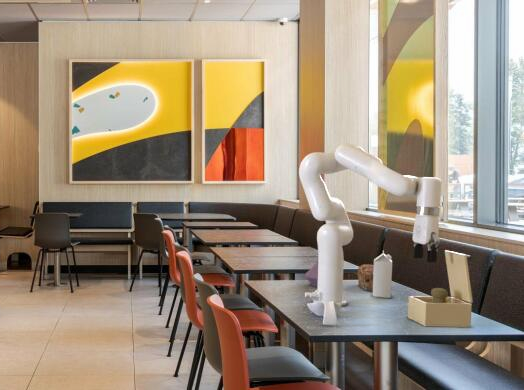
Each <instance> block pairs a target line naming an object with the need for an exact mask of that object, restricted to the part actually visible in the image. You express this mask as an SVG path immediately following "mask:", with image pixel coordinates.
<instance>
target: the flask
mask: <svg viewBox="0 0 524 390" xmlns="http://www.w3.org/2000/svg"><path fill="white" fill-rule="evenodd" d="M303 275H304V276H305V278H306V279H307V281H308V282H309V283H310V284H311V285H310V286H312V287H316V288H317V287H318V257H317V259H316V262H315V264H314V265H313V266H312V267H311V268H310V269H309V270H308V271H306V273H304V274H303Z"/></svg>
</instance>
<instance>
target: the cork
mask: <svg viewBox="0 0 524 390" xmlns="http://www.w3.org/2000/svg"><path fill="white" fill-rule="evenodd" d="M430 295H431V297H433V299H432V303H446V298H447V297H449V296H448V295H449V292H448V290H447V289H445V288H441V287H435V288H434V287H433V288H432V289H431V291H430Z"/></svg>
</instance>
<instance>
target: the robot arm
mask: <svg viewBox="0 0 524 390" xmlns="http://www.w3.org/2000/svg"><path fill="white" fill-rule="evenodd" d="M345 170H351V171H352V172H355V173H356V174H358V175H360V176H362V177H364V178H365V179H367V180H368V181H369V182H371V183H372V184H374V185H375V186H377V187H379V188H380V189H382V190H384V191H385V192H388V193H390V194H392V195H394V196H396V197H403V198H404V197H416V209H415V211H416V212H415V217H414V223H413V230H412V241H413V255H412V256H413V257H412V258H414V259H423V258H424V247H423V246H424V245H426V247H427V251H426V262H427V263H437V258H438V257H437V256H438V251H439V247H440V243H441V239H440V238H439V235H440V233H439V232H440V231H439V230H440V229H439V228H440V225H439V222H440V221H439V218H440V210H441V199H442V198H441V196H442V180H441V179H440V178H439V177H430V176H429V177H428V176H423V177H422V176H421V177H419V176H414V175H403V174H401V173H399V172H397V171H395V170H393V169H392V168H389V167H388V166H386V165H385V164H384V163H383V162H382V160H381V159H380V158H379V157H377V156H375V155H374V154H371V153H369V152H367V151H365V150H364V148H363V147H361V146H360V145H358V144H352V143H342V144H340V145H338V146H337V147H336V149H335V151H332V152H322V151H321V152H320V151H315V152H311V153H309V154H307V155H306V156H304V158H303V159H302V161H300V165H299V168H298V176H299V181H300V184H301V185H302V186H301V187H302V188H303V191H304V194H305V198H306V201H307V203H308V206H309V208H310V212H311V214H312V216H313V218H314V219H315V220H317V221H320V222H325V224H323V225H322V226H320V227H319V229H318V230H317V233H316V242H317V258H318V287H316V288H317V289H315V290H314V291H312V292H308V291H307V292H304V298H309V299H312V303H315V302H318V301H326V302H331V301H334V302H335V303H337V304H339V305H341V307H342V306H346V305H347V300H345V299H343V292H344V290H343V289H344V262H345V261H344V249H343V246H346V245H349V244H350V243H351V242H352V240H353V238H354V229H353V226H352V224H351V221H350V218H349V215H348V213H347V210H346V208H345V205H344V203H343V202H342V201H341V200H340V199H339V198H337V197H334V196H331V195H330V193H329V190H328V188H327V185H326V183H325V181H324V179H323V178H322V176H321V175H332V174H335V173H339V172H343V171H345Z"/></svg>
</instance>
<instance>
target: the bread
mask: <svg viewBox="0 0 524 390" xmlns="http://www.w3.org/2000/svg"><path fill="white" fill-rule="evenodd" d="M373 272H374V264H369V263H367V264H361V265H360V266H359V267H358V269H357V282H358V285H359V286H360V287H361V288H362V289H364V290H365V291H369V292H373Z"/></svg>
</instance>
